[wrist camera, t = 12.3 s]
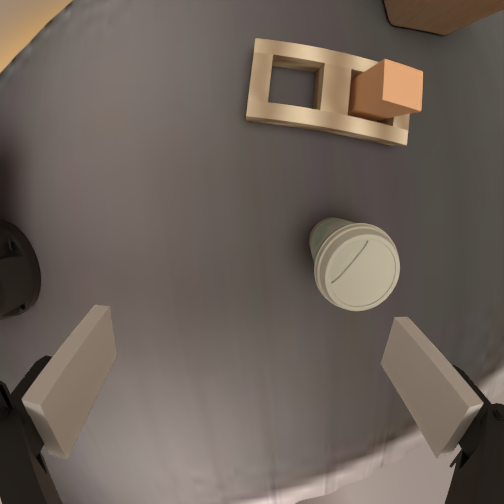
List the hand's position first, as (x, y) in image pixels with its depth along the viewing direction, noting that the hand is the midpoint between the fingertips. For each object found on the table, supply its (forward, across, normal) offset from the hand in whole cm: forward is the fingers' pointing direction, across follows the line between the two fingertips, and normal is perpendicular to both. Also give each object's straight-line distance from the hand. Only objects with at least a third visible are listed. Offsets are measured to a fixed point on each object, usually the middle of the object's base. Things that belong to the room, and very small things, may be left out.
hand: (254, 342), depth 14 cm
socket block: (+25, +9, +16) cm, 31 cm away
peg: (+25, +13, +16) cm, 33 cm away
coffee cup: (+26, +11, -2) cm, 28 cm away
